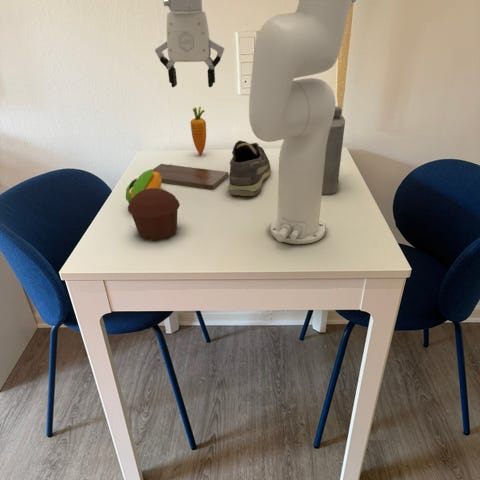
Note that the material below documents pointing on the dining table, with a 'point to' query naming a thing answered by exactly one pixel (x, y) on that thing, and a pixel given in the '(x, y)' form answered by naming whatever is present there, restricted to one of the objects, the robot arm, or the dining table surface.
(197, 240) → the dining table surface
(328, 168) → the flask
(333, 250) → the dining table surface
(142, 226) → the muffin
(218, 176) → the board
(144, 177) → the corn
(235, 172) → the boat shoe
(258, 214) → the dining table surface
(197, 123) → the carrot
